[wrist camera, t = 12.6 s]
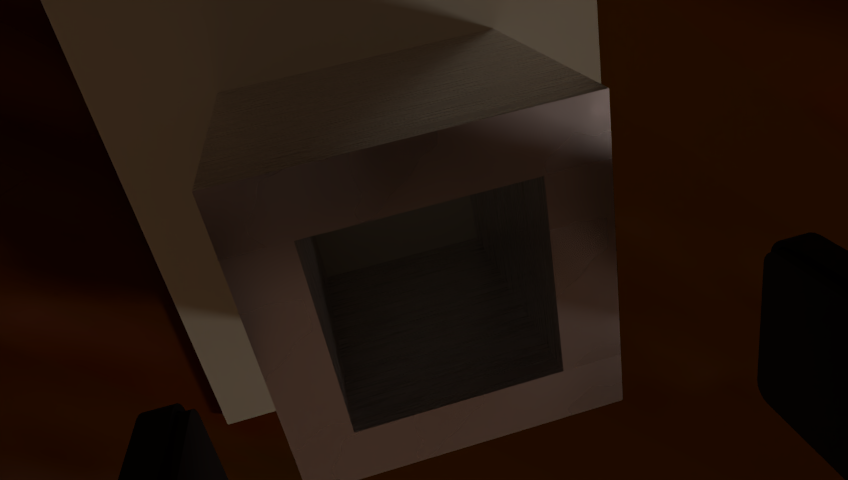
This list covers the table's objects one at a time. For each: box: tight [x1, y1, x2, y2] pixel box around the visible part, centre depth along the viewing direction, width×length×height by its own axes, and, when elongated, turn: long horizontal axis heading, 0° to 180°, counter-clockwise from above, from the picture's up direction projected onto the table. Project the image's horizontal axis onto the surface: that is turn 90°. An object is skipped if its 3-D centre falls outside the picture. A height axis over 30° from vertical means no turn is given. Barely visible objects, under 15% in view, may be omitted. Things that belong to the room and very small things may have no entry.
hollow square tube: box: [192, 28, 623, 480], centre depth 14 cm, size 7×7×6 cm
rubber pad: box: [41, 0, 601, 424], centre depth 17 cm, size 12×12×1 cm
